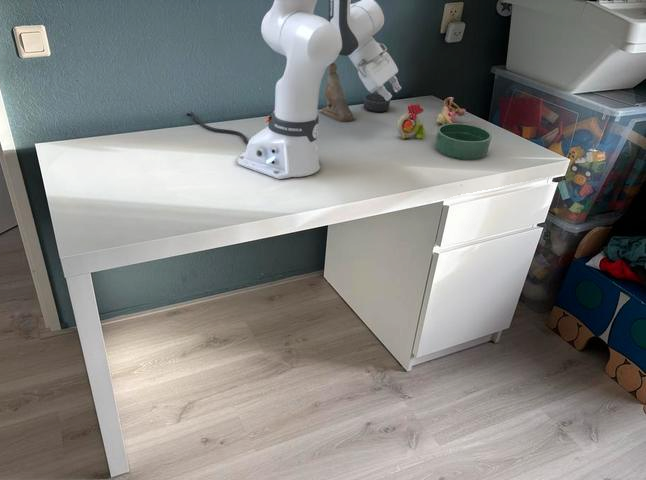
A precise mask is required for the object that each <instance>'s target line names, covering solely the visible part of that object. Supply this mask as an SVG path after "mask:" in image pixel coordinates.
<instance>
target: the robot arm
mask: <svg viewBox="0 0 646 480" xmlns="http://www.w3.org/2000/svg"><path fill="white" fill-rule="evenodd" d="M351 1H352V0H327V19H326V18H325V17H322V16H319V15H317V14H314V12H315V8H316V5H317V2H318V0H274V1H273V3H272V6H271V7H270V9H269V10H268V11H267V12H266V13H265V15H264V16H263V18H262V21H261V27H260V32H261V36H262V39H263V40H264V42H265V43H266V44H267V46H268V47H270V48H271V49H272V50H273V51H274V52H275V53H277V54H280V55H282V56H284V57H285V58H286V64H285V69H284V73H283V75H282V77H281V78H279V79H278V80H277V81H276V83H275V87H274V89H275V90H274V91H275V92H274V110H273V111H272V113H270V114H268V116H267V117H266V118H265V123H268V125H267V126H266V127H264V128H263V129H261V130H260V131H258V132H257V133H255V134H254V135H253V136H251V138H250V139H249V140H247V138H246V136H245V134H243V133H242V132H240V131H239V130H238V131H237V130H233V129H224V128H217V127H212V126H209V125H207V124H205V123H204V122H202V121H201V120H199V119H198V118H197V117H196V115H195V114H194V113H193V112H192V111H191V113H190V114H189V113H188V112H187V113H186V116H190V115H191V117H192V119H193V120H194V121H195V122H196V123H197V124H199V125H200V126H202V127H203V128H204V129H207V130H209V131H212V132H218V133H225V134H226V133H228V134H234V135H237V136H240V137H241V138H242V140H243V142H244V143H245V144H246V150H245V151H243V152H242V153H241V154H240V155H239V156H238V158H237V165H238V166H241V167H243V168H246V169H250V170H253V171H255V172H258V173H260V174H264V175H266V176H269V177H271V178H275V179H279V180H284V179H288V178H302V177H308V176H310V175H311V176H312V175H314V174H316V173H317V172H318V171H319V170H320V168H321V165H320V162H319V156H318V155H319V154H318V146H317V145H318V144H317V143H318V142H317V139H318V135H319V126H320V125H319V121H320V120H319V118H320V117H319V115H318V111H319V110H318V109H319V101H320V100H319V99H320V89H321V85H322V81H323V78H324V75H325V73H326V71H327V69H328V67H329V66H330V65H331V64H332V63H334V62H335V61H336V60H337V58H339V57H338V56H344V57H345V56H346V57H348V59H349V60H350V62H352V64H353V66H354V67H355V69H356V70H357V75H358V77H359V79H360V81H361V83H362V84H363V85H364V87H365V88H366V90H367V91H368V92H369V93H370V94H374V92H377V94H379V95H381V96H383V97H384V98H385V100H386V101H388V100H390V101H391V100H392V98H393V94H392V93H391V91H388V90H387V89H386V87H385V85H384V84H386V83H387V82H388V83H389V84H391V86H392V90H393V91H394V92H395V93H399V92H400V91H401V90H402V86H401V85H400V84H399V81H398V77H396V75H397V74H398V73H399V68H398V66H397V64H396V63H395V61H394V60H393V58H392V56H391V55H390V54H389V53H388V51H387V50H388V48H387V47H386V45H385V44H384V43H379V42H378V41H376V39H375V38H374V37H373V36H375V35H376V34H377V33H378V32H379V31H380V30H381V29H382V28H383V27H384V26H385V22H386V13H385V10H384V8H383V6H382V5H381V4H380V3H379V1H378V0H359V1H356V2H354V3H351Z"/></svg>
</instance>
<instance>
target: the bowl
mask: <svg viewBox="0 0 646 480" xmlns="http://www.w3.org/2000/svg"><path fill="white" fill-rule="evenodd" d="M492 138H493V137H492V133H491V132H490V131H488V130H487V129H485V128H482V127H480V126H477V125H473V124H468V123H453V124H447V123H446V124H445V125H443V124H441V125H440V126H439V127H438V128H437V131H436V135H435V141H434V147H435V149H436V150H437V151H438V153H440V154H442V155H444V156H445V157H449V158H451V159H455V160H462V161H463V160H465V161H472V160H480V159H482V158H484V157H485V156H487V154H488V153H489V150H490V145H491V141H492Z"/></svg>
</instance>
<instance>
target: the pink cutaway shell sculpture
mask: <svg viewBox="0 0 646 480" xmlns="http://www.w3.org/2000/svg"><path fill="white" fill-rule="evenodd" d="M454 99H455V97H452V96H450V97H446V98H445V99H444V101H443V102H444V103H443V104H444V106H443V107H442V110H441V113H439V114H438V115H437V117H438V118H437V119H436V122H437V123H438V124H441V125H445V124H454V123H457V122H458V121H457V118H456V116H458V117H462V116H465V115H466V112H467V111H466V109H465V108H460V107H459V105H457V104H456V103H455V102H453V101H454Z"/></svg>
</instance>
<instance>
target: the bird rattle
mask: <svg viewBox="0 0 646 480" xmlns="http://www.w3.org/2000/svg"><path fill="white" fill-rule="evenodd" d="M407 110H408V112H406V113H404V114H403V115H401V117H399V119H398V121H397V123H396V129H397V132H398V134H399V136H401V139H402V140H405V139H406V138H410V137H413V136H414V135H416V138H417V139H419V140H420V139H422V137H426V136H427V132H426V131H425V125H424V124H423V122H422V123H421V121H420V118H419V116H418V115H421V114H422V113H423V112H424V108H422V107H421V104H420V103H415V104H411V103H410V104H408V105H407Z"/></svg>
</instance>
